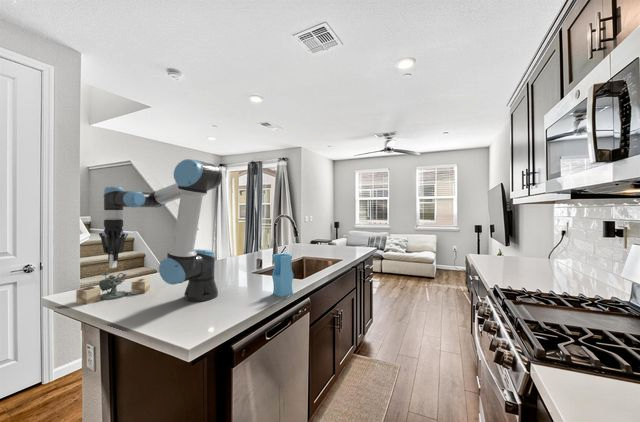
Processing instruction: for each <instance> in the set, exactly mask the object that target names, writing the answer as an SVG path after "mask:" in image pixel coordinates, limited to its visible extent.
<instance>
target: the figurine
mask: <svg viewBox="0 0 640 422" xmlns="http://www.w3.org/2000/svg"><path fill="white" fill-rule="evenodd" d="M108 275H109V276H108ZM119 275H122V276H121V277H120V276H119ZM101 276H104V277H105V278H104V279H102V280H100V281H99V282H98V287H100V291H102V292H104V293H102V294H100V301H111V300H116V299H120V298H123V297H124V298H125V297H126V296H127V295H128V292H127V291H125V290H118V289H117V286H119V285H122V284H123V282H125V281H126V280H125V279H124V278H125V277H126V276H127V273H123V272H119V273H118V274H117V276H115V275H113V274H111V275H110V272H103V273H101ZM107 276H108V277H107ZM109 290H110V291H109ZM105 291H106V292H105Z"/></svg>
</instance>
